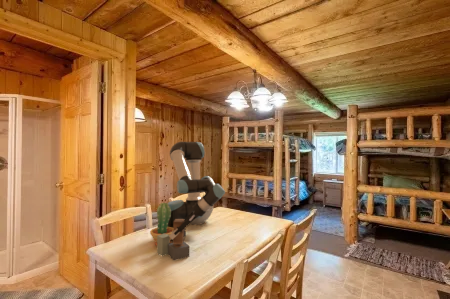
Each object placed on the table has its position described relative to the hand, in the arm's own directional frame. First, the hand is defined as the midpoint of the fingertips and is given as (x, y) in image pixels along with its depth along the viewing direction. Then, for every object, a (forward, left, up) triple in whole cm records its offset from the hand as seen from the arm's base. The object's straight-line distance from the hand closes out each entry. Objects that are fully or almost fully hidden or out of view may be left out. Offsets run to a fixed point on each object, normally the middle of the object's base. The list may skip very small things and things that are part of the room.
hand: (172, 235), depth 130 cm
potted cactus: (-18, +6, -11) cm, 22 cm away
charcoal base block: (+3, +2, -11) cm, 12 cm away
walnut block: (+3, +2, -3) cm, 5 cm away
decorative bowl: (-33, +50, -11) cm, 61 cm away
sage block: (-6, -2, -11) cm, 12 cm away
